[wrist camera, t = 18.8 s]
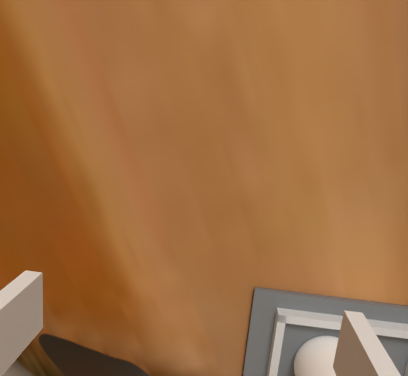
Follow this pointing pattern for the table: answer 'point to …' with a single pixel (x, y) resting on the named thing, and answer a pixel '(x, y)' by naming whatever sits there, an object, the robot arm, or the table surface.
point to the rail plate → (314, 328)
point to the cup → (316, 357)
